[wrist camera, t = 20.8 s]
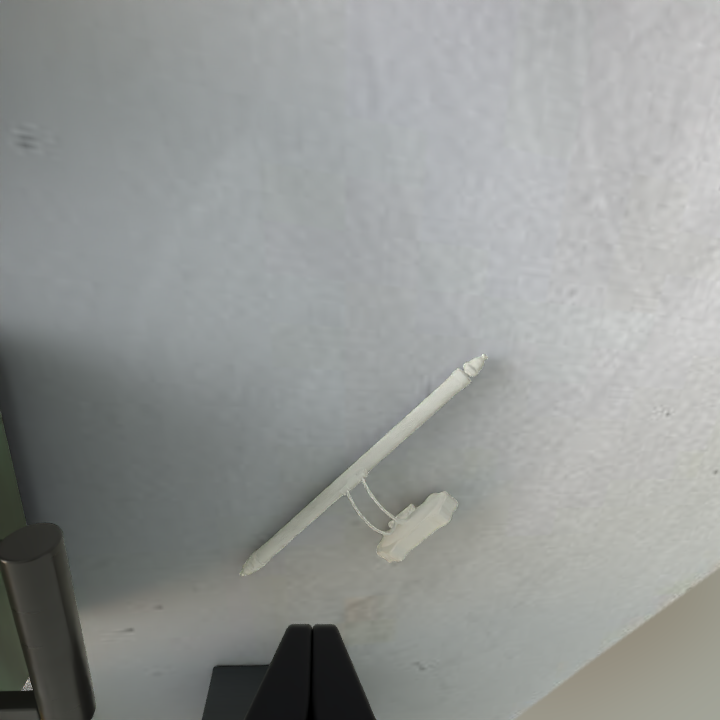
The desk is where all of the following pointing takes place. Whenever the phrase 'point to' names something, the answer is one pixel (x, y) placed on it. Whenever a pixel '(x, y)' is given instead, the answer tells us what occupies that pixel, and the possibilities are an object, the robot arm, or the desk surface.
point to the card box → (232, 691)
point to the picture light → (405, 526)
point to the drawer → (37, 616)
